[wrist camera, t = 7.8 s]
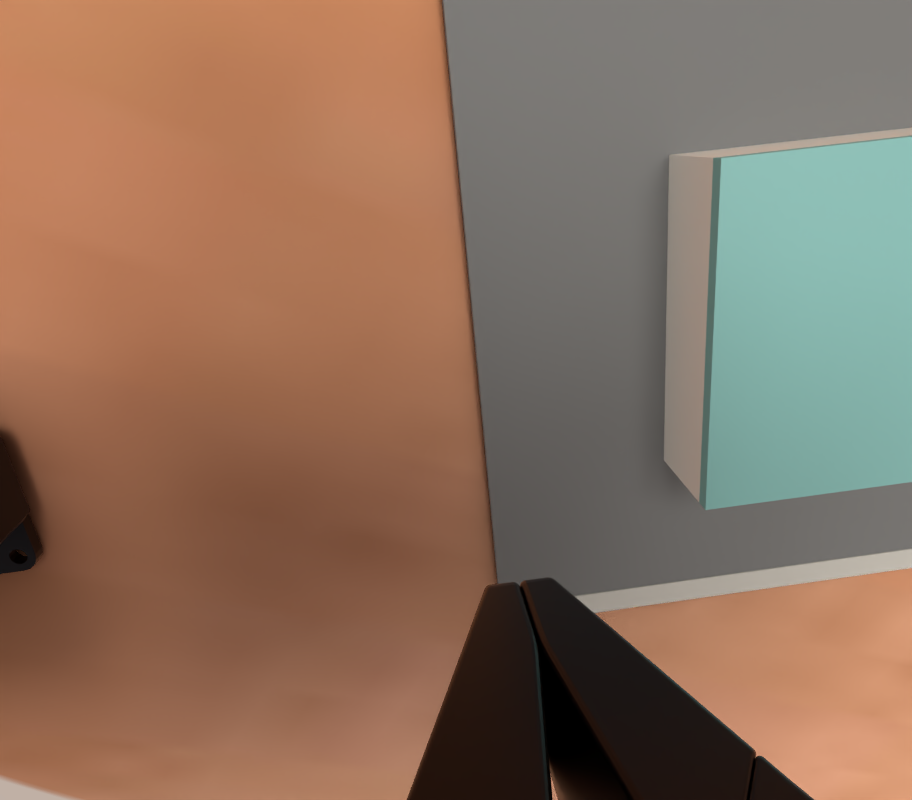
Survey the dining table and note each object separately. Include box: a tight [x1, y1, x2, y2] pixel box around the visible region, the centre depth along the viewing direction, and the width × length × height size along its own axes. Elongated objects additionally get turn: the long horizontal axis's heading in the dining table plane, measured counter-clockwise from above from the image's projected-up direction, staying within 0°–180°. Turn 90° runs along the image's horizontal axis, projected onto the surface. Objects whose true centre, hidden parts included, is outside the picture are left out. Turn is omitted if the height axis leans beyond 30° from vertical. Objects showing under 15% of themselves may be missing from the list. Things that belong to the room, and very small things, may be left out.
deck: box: [664, 128, 912, 510], centre depth 18 cm, size 3×9×7 cm
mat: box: [442, 0, 912, 613], centre depth 19 cm, size 18×20×1 cm
